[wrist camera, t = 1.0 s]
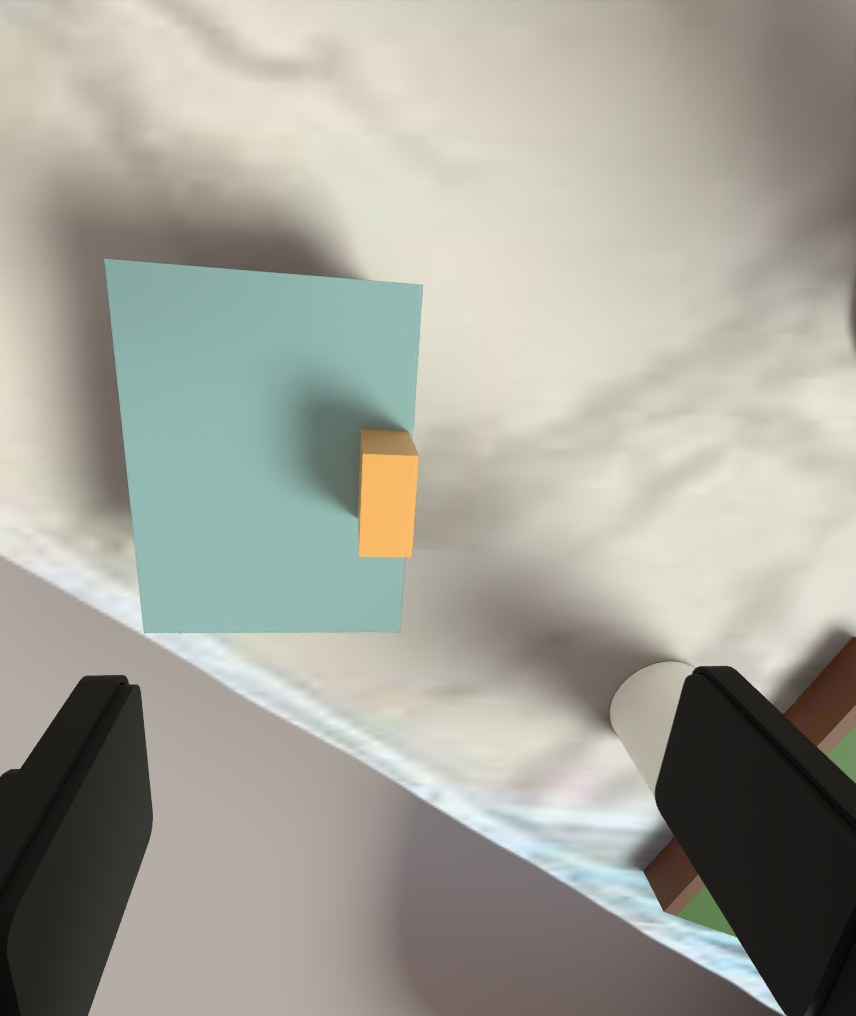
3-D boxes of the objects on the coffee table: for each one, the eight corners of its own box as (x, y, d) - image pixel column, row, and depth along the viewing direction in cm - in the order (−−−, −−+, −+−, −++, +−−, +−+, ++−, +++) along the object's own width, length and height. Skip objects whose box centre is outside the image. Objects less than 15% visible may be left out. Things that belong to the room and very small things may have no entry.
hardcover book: (847, 632, 41) (893, 664, 37) (999, 724, 46) (1052, 760, 43) (634, 871, 47) (657, 918, 43) (791, 929, 52) (822, 975, 49)
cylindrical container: (687, 748, 42) (1103, 1311, 19) (597, 742, 41) (923, 1338, 18) (722, 666, 40) (1243, 1190, 17) (627, 656, 39) (1048, 1210, 15)
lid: (418, 285, 24) (437, 283, 19) (397, 614, 29) (407, 684, 24) (120, 260, 22) (50, 251, 17) (155, 614, 28) (109, 689, 22)
